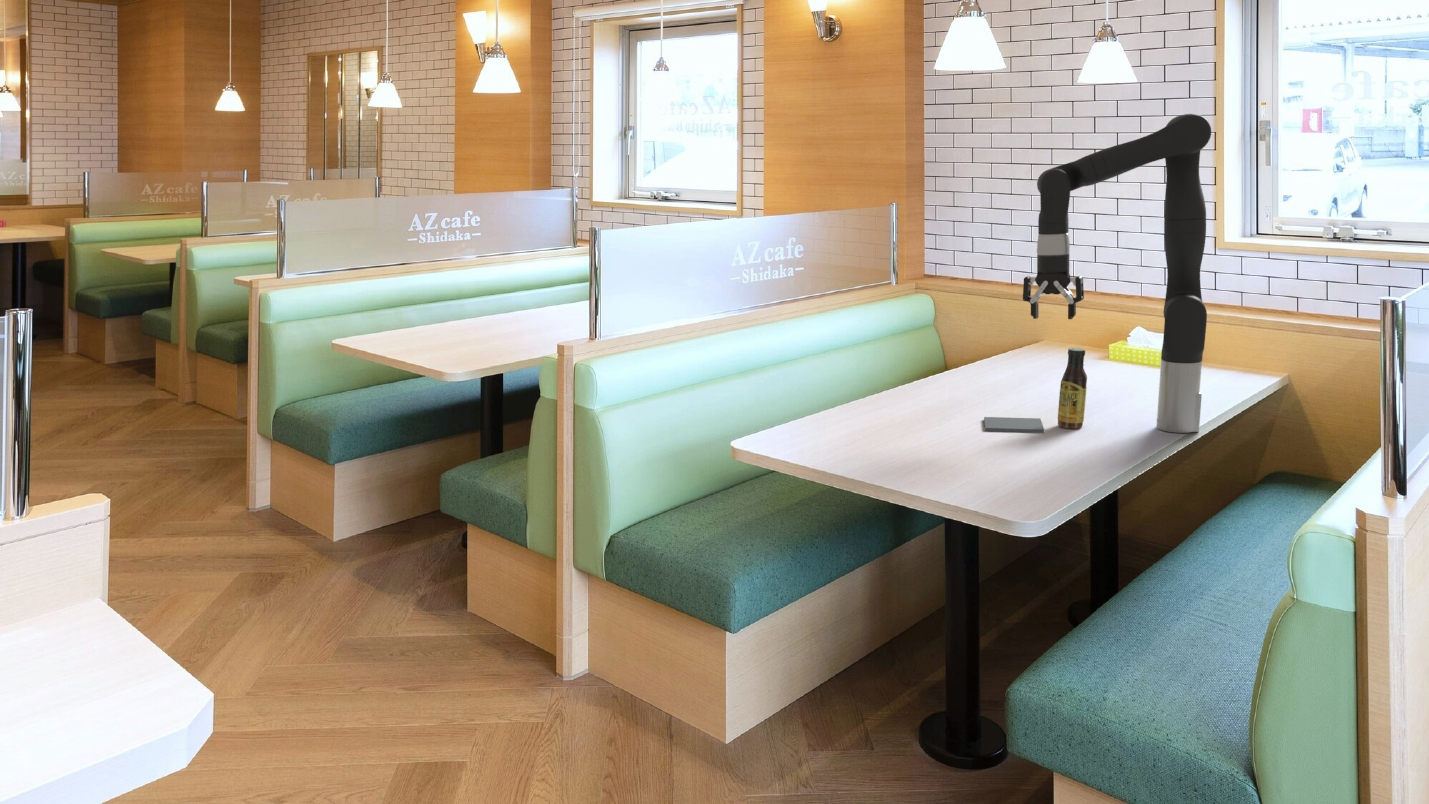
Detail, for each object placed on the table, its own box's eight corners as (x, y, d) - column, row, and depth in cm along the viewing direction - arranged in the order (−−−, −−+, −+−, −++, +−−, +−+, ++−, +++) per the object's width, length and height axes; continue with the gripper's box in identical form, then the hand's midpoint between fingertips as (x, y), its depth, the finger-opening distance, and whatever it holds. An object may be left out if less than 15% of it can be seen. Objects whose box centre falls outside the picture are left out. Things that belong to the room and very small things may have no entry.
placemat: (1040, 421, 280) (1040, 418, 280) (1044, 432, 269) (1044, 429, 269) (984, 419, 283) (984, 416, 283) (985, 431, 272) (985, 427, 272)
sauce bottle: (1052, 426, 275) (1055, 348, 270) (1067, 422, 278) (1071, 345, 274) (1074, 431, 270) (1078, 351, 265) (1089, 427, 273) (1094, 348, 269)
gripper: (1087, 250, 265) (1086, 317, 268) (1028, 251, 273) (1028, 316, 276) (1079, 253, 259) (1078, 321, 262) (1019, 254, 267) (1019, 320, 270)
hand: (1052, 318), depth 269 cm, fingers open, 8 cm apart
